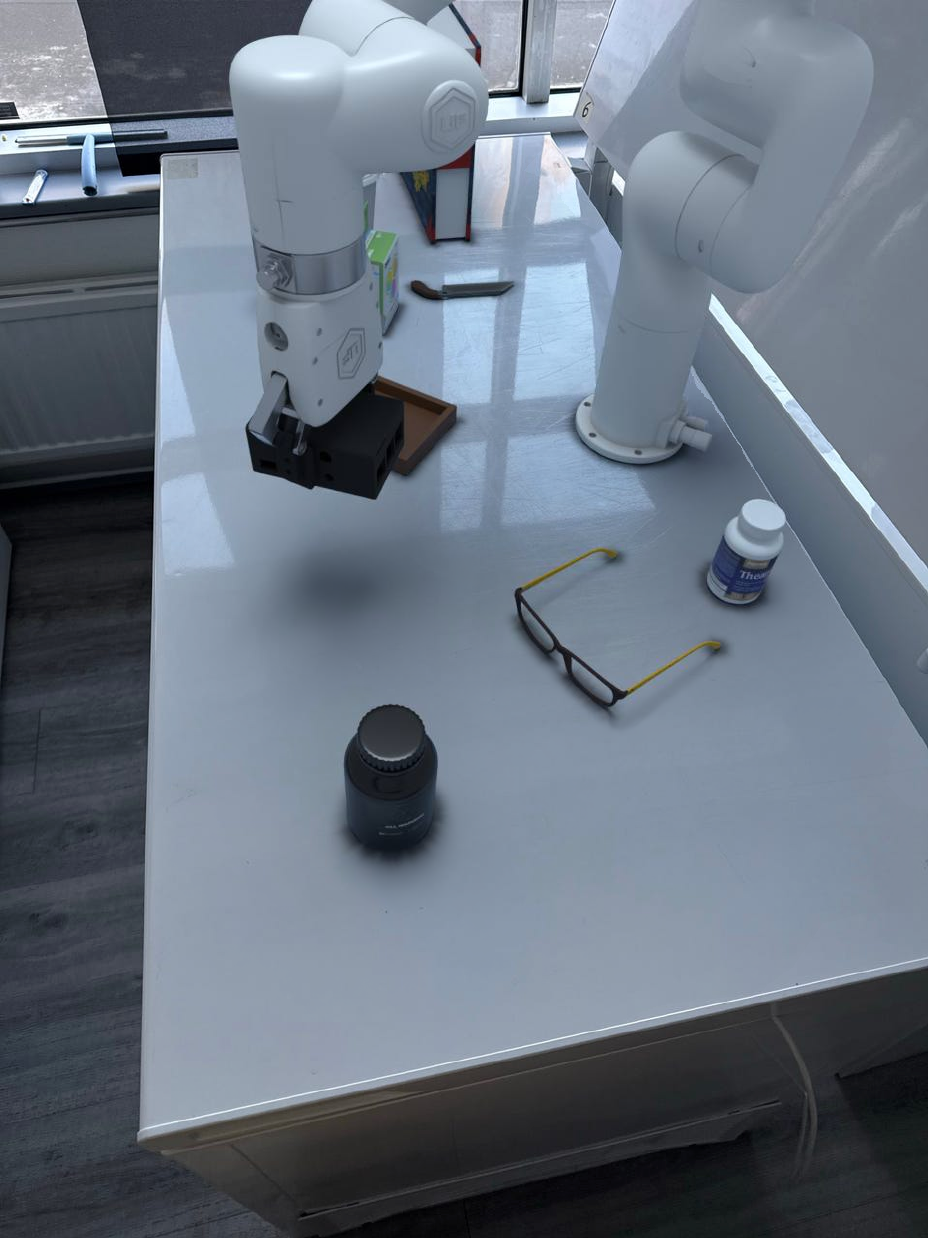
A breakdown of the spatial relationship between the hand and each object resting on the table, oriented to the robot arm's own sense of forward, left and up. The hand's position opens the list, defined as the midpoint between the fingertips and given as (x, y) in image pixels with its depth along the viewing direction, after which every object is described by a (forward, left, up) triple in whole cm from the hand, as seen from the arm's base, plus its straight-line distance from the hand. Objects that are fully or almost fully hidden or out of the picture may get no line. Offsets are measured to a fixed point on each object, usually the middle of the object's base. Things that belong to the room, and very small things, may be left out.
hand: (329, 449), depth 74 cm
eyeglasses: (-26, -7, -16) cm, 31 cm away
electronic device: (0, 0, -1) cm, 1 cm away
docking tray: (+9, -21, -15) cm, 28 cm away
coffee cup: (+30, -47, -16) cm, 58 cm away
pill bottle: (-34, -19, -16) cm, 42 cm away
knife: (+14, -51, -16) cm, 55 cm away
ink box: (+20, -39, -16) cm, 47 cm away
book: (+30, -70, -16) cm, 78 cm away
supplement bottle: (-18, +19, -16) cm, 30 cm away
